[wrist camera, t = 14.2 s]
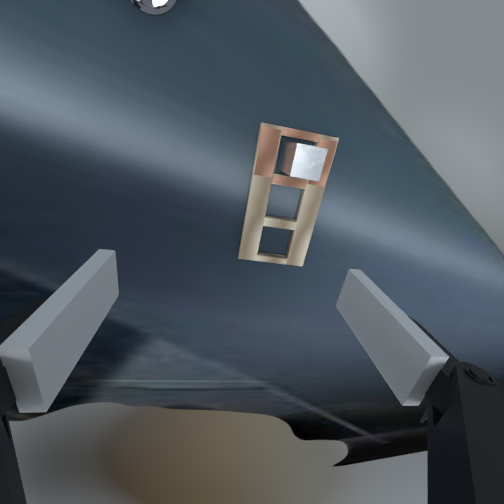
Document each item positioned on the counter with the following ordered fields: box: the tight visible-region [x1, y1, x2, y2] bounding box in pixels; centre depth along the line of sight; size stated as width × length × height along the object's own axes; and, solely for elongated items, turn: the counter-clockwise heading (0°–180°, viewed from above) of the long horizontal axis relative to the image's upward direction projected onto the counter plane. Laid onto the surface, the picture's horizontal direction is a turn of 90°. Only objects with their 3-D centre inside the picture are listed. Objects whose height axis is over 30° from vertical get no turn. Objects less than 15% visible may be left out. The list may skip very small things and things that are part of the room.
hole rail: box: [238, 122, 339, 266], centre depth 42 cm, size 12×22×2 cm, turn 170°
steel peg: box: [278, 142, 328, 181], centre depth 36 cm, size 4×4×9 cm
